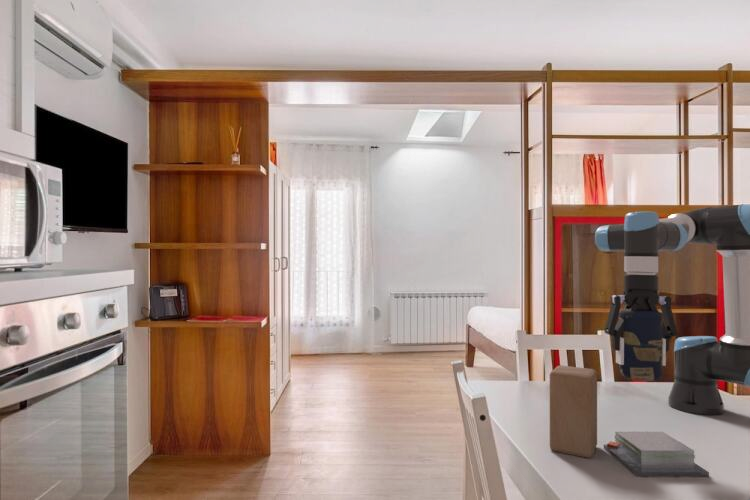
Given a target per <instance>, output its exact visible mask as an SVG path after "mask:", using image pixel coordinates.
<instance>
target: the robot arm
mask: <svg viewBox="0 0 750 500" xmlns="http://www.w3.org/2000/svg"><path fill="white" fill-rule="evenodd" d="M594 243H595V246H596V247H597V249H598V250H599V251H602V252H609V253H611V252H624V254H623V255H624V256H623V260H624V261H623V272H625V273H626V274H624V275H623V288H624V289H623V290H624V292H623V293H622V294H621V295H615V294H613V295H611V296H610V301H611V305H610V308H609V313H608V316H607V319H606V324H605V327H604V333H605V334H607V335H609V336H611V338H612V344H611V345H612V349H613V351H615V364H618V365H624V338H622V337H621V335H622V333H623V331H624V320H621V319H619V312H620V311H621V306H622V304H623V302H624V303H625V306H624V308H623V310H627V311H650V310H651V311H658V312H659V310H658V308H657V307H656V304H657V303H659V304H660V305H659V306H660V310H661V315H662V340H663V346H662V367H663V366H664V367H665V366H666V363H667V362H666V361H667V356H666V355H667V354H666V353H667V352H669V351H670V340H671V339H672V338H673V337H677V336H678V330H677V326H676V322H675V318H674V314H673V310H672V307H671V304H672V298H671V297H670V296H666V295H662V296H660V295H659V291H658V290H659V276H658V275H657V274H658V273H659V252H667V253H668V252H670V253H671V252H677V251H680V250H681V249H683V248H684V247H685V245H686V244H695V245H696V244H698V245H715V247H716V248H715V250H716V252H717V253H719V254H720V255H721V256H722V273H723V278H722V279H723V302H724V327H725V328H724V330H725V333H724V335H722V336H720V338H719V340H718V338H717V336H712V335H710V336H709V335H696V336H695V335H694V336H693V335H691V336H681V337H680V336H679V337H677V338H676V339H675V341H674V346H673V347H674V348H673V349H674V350H673V353H674V354H673V356H674V357H673V359H674V368H673V369H674V371H673V372H674V373H673V374H674V381H673V384H672V387H671V390H670V391H669V395H668V398H667V399H668V400H667V402H668V405H669V406H670V407H672V408H674V409H675V410H678V411H682V412H686V413H691V414H698V415H707V416H708V415H711V416H712V415H714V416H715V415H721V414H723V413H724V412H725V405H724V402H723V399H722V396H721V394H720V391H719V388H718V381H721V382H727V383H732V384H737V385H742V386H744V387H750V204H747V203H745V204H744V203H742V204H736V205H735V204H734V205H723V206H722V205H721V206H708V207H701V208H696V209H691V210H688V211H684V212H677V213H673V214H671V215H669V216H668V217H664V218H659V214H658V213H657V212H655V211H646V210H645V211H632V212H628V213H626V214H625V216H624V223H620V224H608V225H607V224H606V225H601V226H599V227H598V228H597V229H596V231H595V234H594ZM630 308H631V309H630ZM718 341H719V342H718Z"/></svg>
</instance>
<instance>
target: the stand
mask: <svg viewBox="0 0 750 500" xmlns="http://www.w3.org/2000/svg"><path fill="white" fill-rule="evenodd" d="M614 440H615V441H609V442H608V443H606V444H603V449H604V450H605V451H606V452H607V453H608V454H610V455H611V457H613V458H614V459H616V460H617V461H618V462H619V463H620V464H622V465H623V466H624V467H626V469H627V470H629V471H630V472H631V473H632V474H634V475H635V476H636V478H637V477H643V478H644V477H645V478H646V477H650V478H652V477H653V478H654V477H656V478H657V477H661V478H665V477H666V478H668V477H669V478H670V477H673V478H675V477H679V478H681V477H682V478H683V477H685V478H687V477H688V478H689V477H690V478H694V477H695V478H696V477H698V478H702V477H703V478H705V477H706V478H708V477H710V472H709V471H708V470H706V469H704V468H703V467H702V466H700V465H698V464H697V463H696V462H695V459H696V456H695V450H694V449H692V448H691V447H689V446H687V445H686V444H683V442H681V441H679V440H677V439H676V438H674V437H672V436H671V435H669V434H667V433H666V432H664V431H615V433H614Z"/></svg>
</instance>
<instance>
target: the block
mask: <svg viewBox="0 0 750 500" xmlns="http://www.w3.org/2000/svg"><path fill="white" fill-rule="evenodd" d="M597 445H598V373H597V370H595V369H594V368H587V367H579V366H578V367H577V366H570V365H568V366H567V365H562V364H561V365H558V366H556V367H555V368H554V369H552V371H550V373H549V448H550V450H551V451H554V452H558V453H563V454H567V455H568V454H569V455H572V456H576V457H577V456H578V457H583V458H587V459H588V458H592V456H593V454H594V451H595V450H596V447H597Z"/></svg>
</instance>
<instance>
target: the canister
mask: <svg viewBox="0 0 750 500" xmlns="http://www.w3.org/2000/svg"><path fill="white" fill-rule="evenodd" d="M630 309H631V308H630ZM619 319H621V320H624V331H623V333H622V335H621V337H622V338H624V365H620V364H618V365H619V374H620V375H621V376H622V377H624V378H626V379H632V380H635V381H636V380H637V381H642V382H643V381H646V382H653V381H658V380H661V379H662V377H663V366H662V346H663V340H662V321H663V315H662V312H660V311H659V310H658V311H651V310H650V311H627V310H624V309H620V311H619V315H618V320H619Z"/></svg>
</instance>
